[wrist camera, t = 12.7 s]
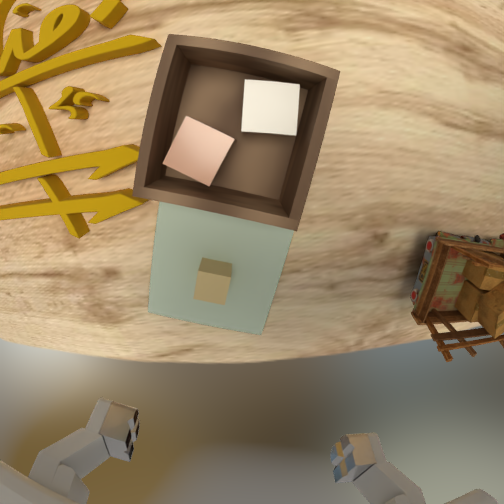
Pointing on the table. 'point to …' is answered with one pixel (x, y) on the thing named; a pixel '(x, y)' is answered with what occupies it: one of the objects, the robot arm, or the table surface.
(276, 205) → the walnut box
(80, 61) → the decorative art
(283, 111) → the cream cube
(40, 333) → the table surface
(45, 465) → the robot arm
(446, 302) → the toy truck
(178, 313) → the lid
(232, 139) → the peach cube
